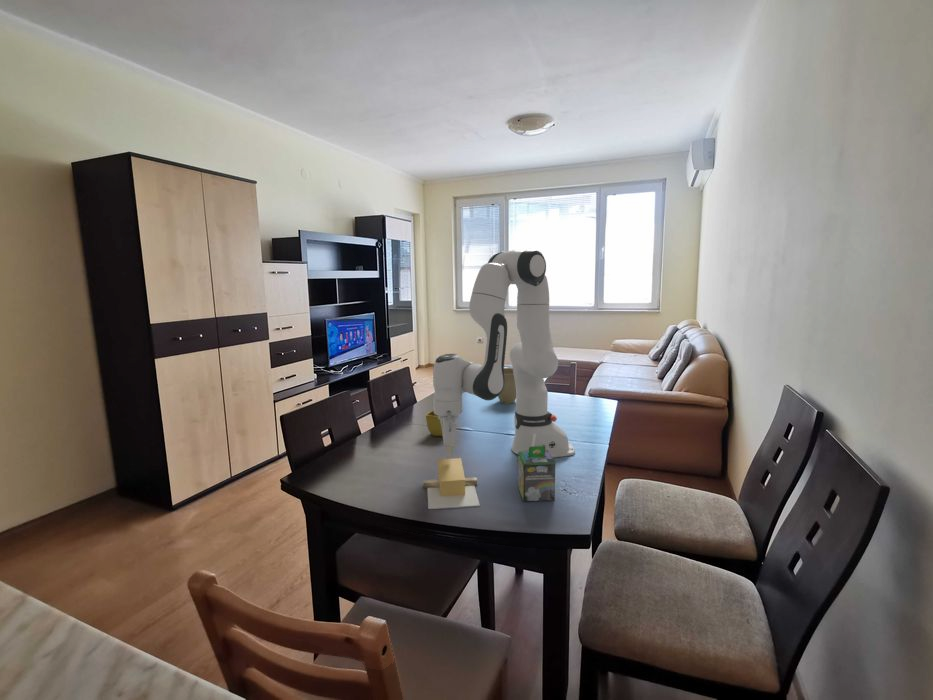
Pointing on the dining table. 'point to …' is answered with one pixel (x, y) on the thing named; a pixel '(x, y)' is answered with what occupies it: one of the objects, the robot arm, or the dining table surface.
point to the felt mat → (452, 499)
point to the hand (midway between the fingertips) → (448, 449)
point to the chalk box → (536, 474)
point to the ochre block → (451, 477)
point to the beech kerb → (436, 484)
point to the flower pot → (434, 424)
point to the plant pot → (508, 387)
